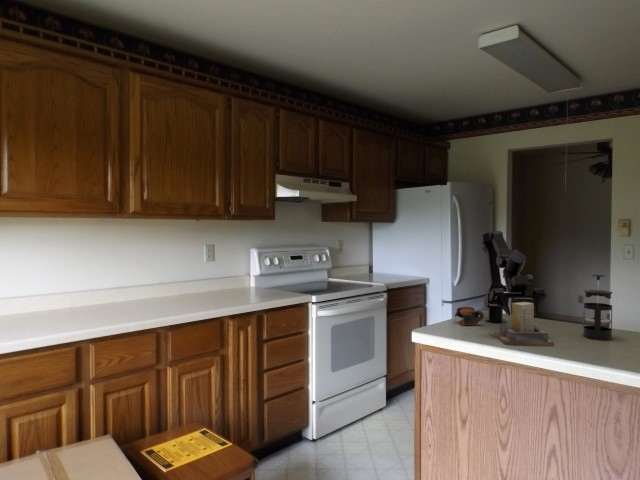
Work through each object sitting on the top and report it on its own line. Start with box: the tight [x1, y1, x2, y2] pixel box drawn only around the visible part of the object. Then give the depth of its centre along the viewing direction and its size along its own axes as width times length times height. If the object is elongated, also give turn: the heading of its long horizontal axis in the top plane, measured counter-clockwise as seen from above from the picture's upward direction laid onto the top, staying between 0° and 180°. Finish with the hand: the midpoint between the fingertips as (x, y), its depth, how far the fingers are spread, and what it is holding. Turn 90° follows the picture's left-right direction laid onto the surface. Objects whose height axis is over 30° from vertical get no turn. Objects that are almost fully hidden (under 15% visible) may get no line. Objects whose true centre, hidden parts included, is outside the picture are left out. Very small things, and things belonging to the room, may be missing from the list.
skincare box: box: [511, 301, 535, 332], centre depth 162 cm, size 6×4×12 cm
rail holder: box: [493, 324, 555, 347], centre depth 162 cm, size 13×16×4 cm
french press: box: [582, 274, 613, 341], centre depth 167 cm, size 12×9×23 cm
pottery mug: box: [454, 306, 485, 327], centre depth 190 cm, size 12×10×8 cm
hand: (522, 315), depth 162 cm, fingers open, 9 cm apart
